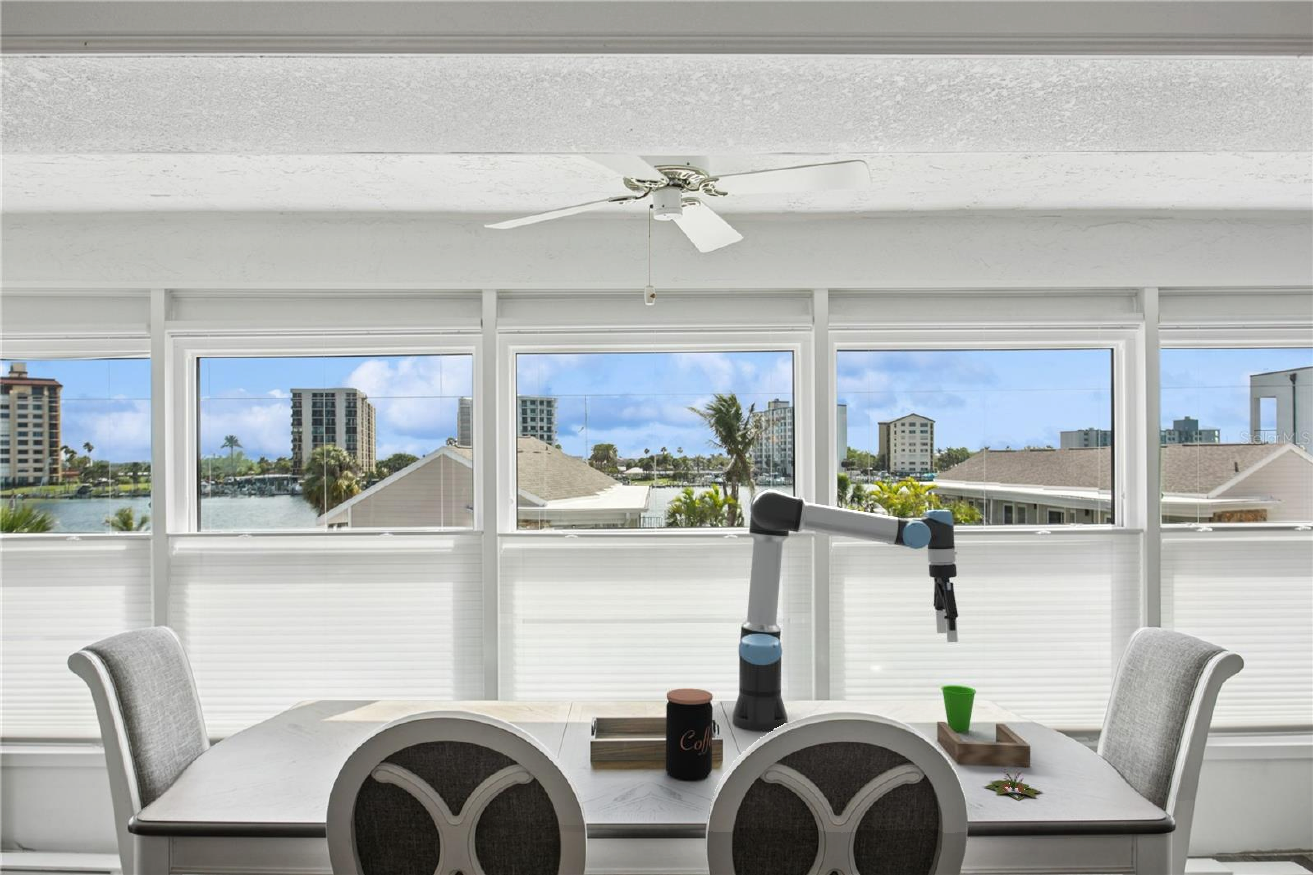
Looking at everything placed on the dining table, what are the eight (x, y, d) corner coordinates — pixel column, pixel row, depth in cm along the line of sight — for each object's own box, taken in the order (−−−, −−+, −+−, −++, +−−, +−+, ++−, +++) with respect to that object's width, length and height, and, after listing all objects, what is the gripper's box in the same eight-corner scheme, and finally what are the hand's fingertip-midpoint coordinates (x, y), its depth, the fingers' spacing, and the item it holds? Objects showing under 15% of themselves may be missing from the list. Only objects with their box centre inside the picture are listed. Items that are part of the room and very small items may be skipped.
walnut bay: (957, 764, 199) (957, 743, 200) (937, 741, 217) (937, 721, 218) (1030, 767, 198) (1030, 746, 199) (1003, 743, 216) (1003, 723, 217)
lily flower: (1054, 796, 182) (1054, 775, 182) (1020, 807, 175) (1020, 785, 175) (1005, 779, 192) (1005, 758, 192) (972, 788, 185) (972, 767, 186)
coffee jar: (679, 785, 184) (680, 702, 184) (657, 769, 193) (658, 691, 194) (720, 777, 189) (721, 697, 189) (696, 763, 198) (697, 686, 199)
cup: (971, 725, 231) (970, 685, 232) (980, 735, 222) (980, 694, 223) (937, 724, 232) (937, 684, 233) (945, 734, 223) (945, 692, 224)
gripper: (966, 567, 228) (971, 645, 227) (946, 558, 253) (950, 629, 252) (937, 568, 229) (943, 646, 228) (920, 559, 254) (925, 629, 253)
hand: (947, 637), depth 240 cm, fingers open, 13 cm apart
